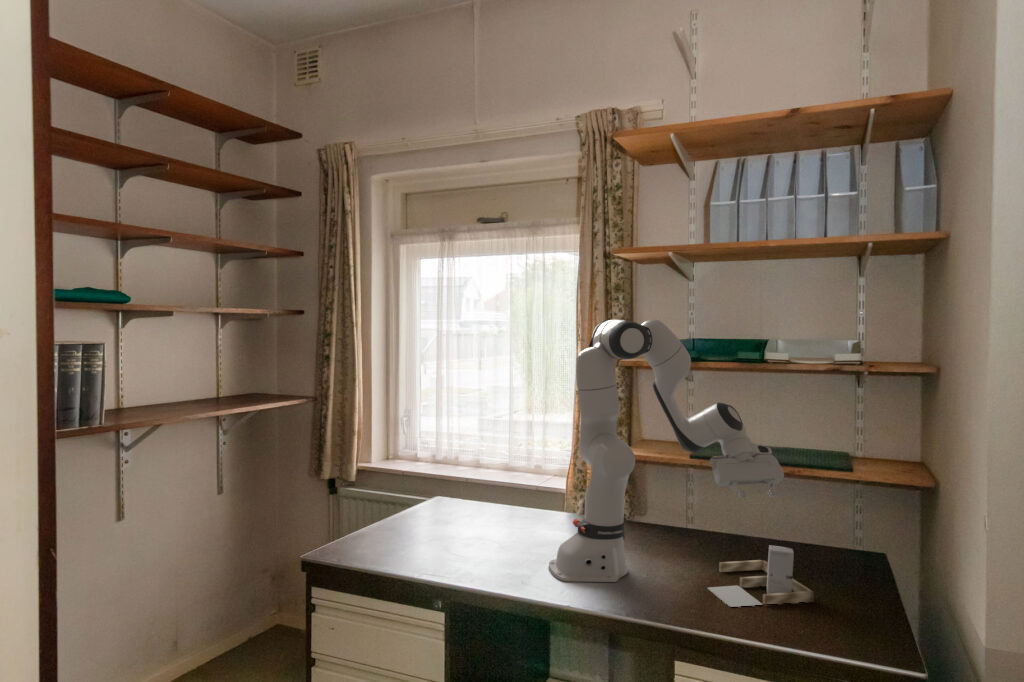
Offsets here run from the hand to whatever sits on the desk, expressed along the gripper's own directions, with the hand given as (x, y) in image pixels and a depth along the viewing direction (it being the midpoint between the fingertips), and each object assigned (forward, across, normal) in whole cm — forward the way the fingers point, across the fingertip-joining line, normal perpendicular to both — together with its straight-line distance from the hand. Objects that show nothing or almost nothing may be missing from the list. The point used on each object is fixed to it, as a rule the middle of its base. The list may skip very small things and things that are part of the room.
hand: (758, 496), depth 187 cm
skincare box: (+24, -1, +8) cm, 26 cm away
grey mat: (+24, -14, +8) cm, 29 cm away
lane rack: (+21, -2, +11) cm, 24 cm away
